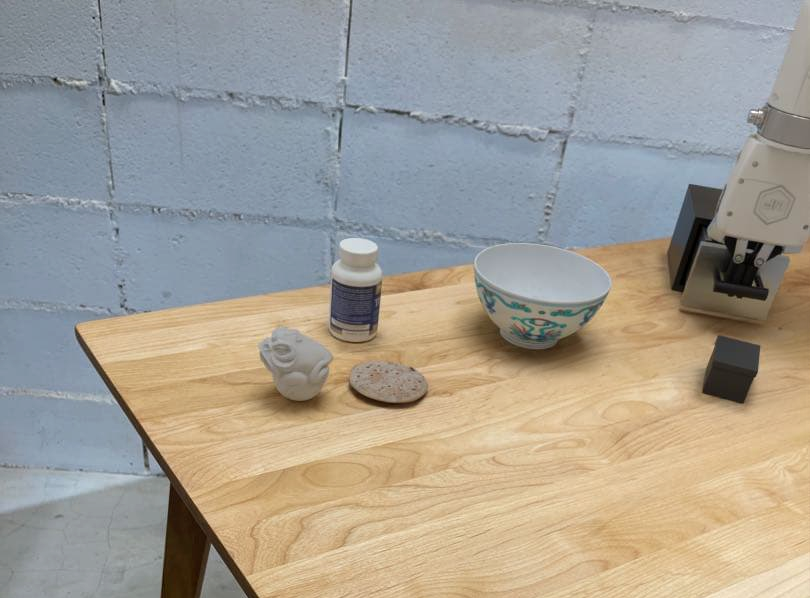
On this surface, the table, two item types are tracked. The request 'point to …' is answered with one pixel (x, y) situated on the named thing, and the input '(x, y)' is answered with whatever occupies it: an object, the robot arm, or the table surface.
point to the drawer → (712, 290)
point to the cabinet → (690, 228)
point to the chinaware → (538, 291)
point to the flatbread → (388, 382)
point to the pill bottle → (355, 291)
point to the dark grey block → (731, 368)
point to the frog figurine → (295, 363)
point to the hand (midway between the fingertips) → (733, 292)
